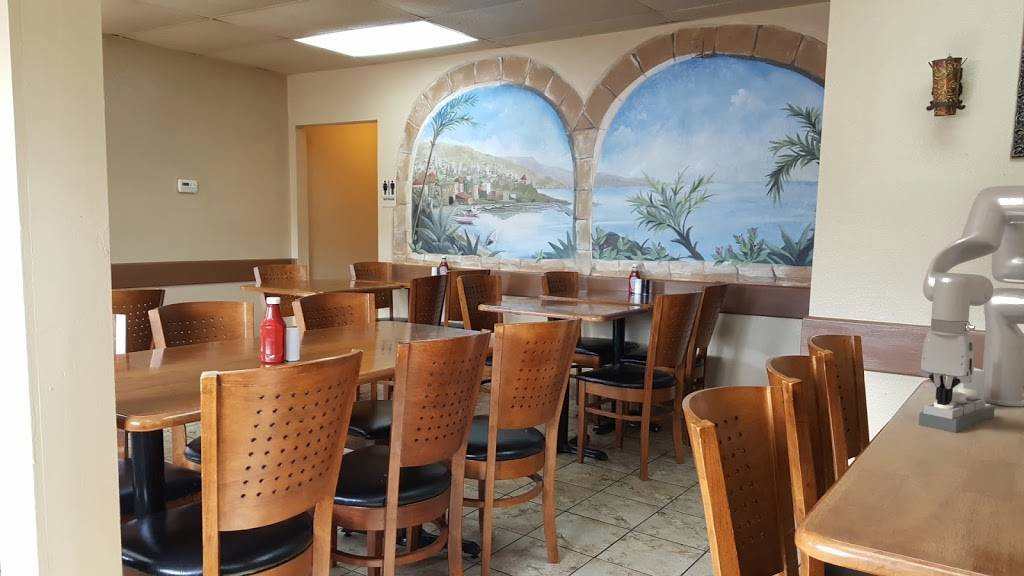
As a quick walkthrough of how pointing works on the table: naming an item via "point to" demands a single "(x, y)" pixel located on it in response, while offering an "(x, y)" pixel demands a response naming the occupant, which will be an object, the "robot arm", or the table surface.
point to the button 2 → (969, 393)
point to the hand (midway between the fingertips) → (943, 403)
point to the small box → (974, 383)
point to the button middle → (958, 397)
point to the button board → (956, 415)
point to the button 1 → (944, 406)
